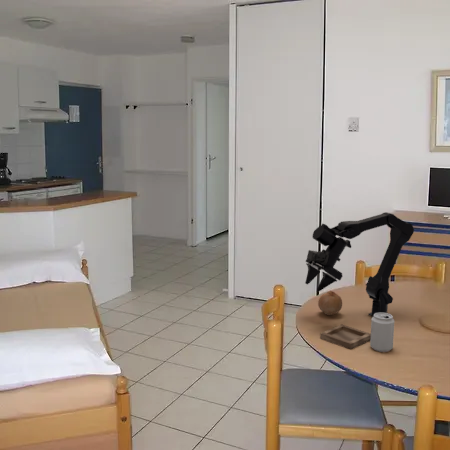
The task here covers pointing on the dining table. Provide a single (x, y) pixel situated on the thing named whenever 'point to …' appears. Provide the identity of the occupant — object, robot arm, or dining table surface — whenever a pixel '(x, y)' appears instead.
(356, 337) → the brown wooden tray
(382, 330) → the can
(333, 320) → the dining table surface
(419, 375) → the dining table surface
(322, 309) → the onion
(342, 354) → the dining table surface
